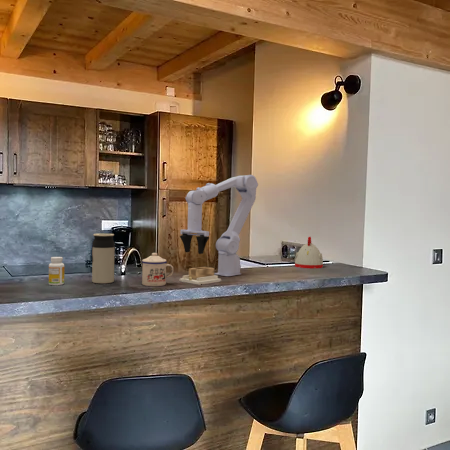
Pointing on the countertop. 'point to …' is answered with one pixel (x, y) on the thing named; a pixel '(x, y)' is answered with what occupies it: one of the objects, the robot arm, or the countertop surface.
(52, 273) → the supplement bottle
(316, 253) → the kitchen timer
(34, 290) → the countertop surface
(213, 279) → the cream flat piece
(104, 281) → the travel mug
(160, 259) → the teacup with lid
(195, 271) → the frame
